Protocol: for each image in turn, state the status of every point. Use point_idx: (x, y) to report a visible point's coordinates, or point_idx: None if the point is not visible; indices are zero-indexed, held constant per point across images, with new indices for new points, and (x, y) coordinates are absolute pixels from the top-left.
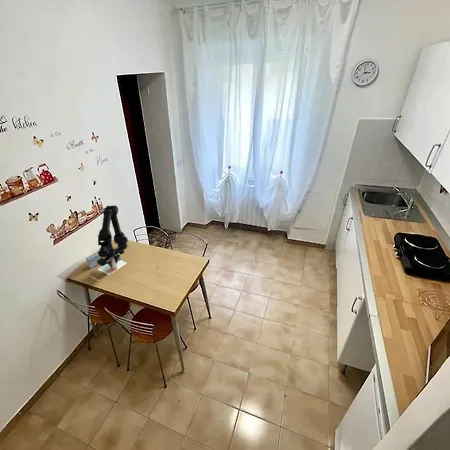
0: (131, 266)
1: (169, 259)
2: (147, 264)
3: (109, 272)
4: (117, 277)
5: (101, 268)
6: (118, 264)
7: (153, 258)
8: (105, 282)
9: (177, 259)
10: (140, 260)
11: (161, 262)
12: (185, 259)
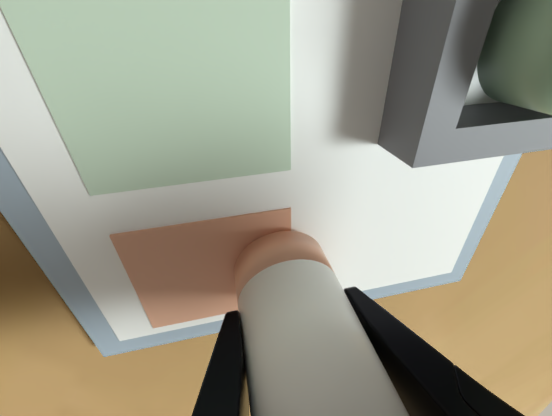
0: (406, 324)
1: (532, 385)
2: (464, 365)
3: (156, 299)
4: (196, 382)
5: (37, 25)
6: (384, 220)
7: (546, 336)
8: (25, 391)
9: (532, 399)
10: (515, 301)
11: (498, 386)
12: (532, 411)
